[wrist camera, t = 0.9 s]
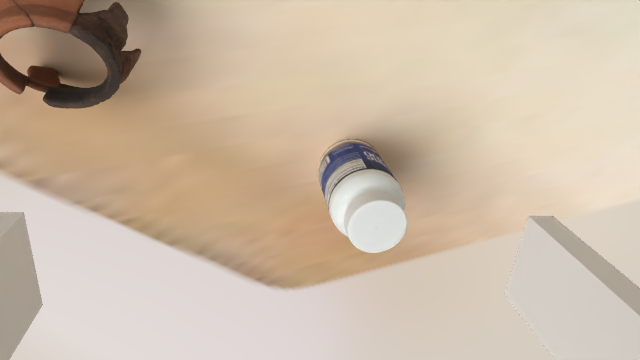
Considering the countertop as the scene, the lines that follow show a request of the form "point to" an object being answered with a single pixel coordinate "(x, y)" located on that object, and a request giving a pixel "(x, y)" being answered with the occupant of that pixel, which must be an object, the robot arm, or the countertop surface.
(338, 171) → the pill bottle
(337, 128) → the countertop surface
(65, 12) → the brown curved piece
